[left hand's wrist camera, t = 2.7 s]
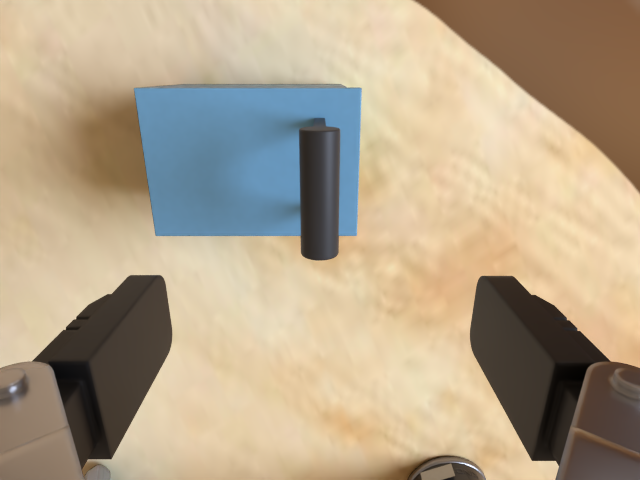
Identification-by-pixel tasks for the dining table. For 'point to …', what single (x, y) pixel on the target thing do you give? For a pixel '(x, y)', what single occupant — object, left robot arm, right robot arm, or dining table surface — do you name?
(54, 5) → the dining table surface
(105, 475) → the digital clock
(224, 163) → the lid
